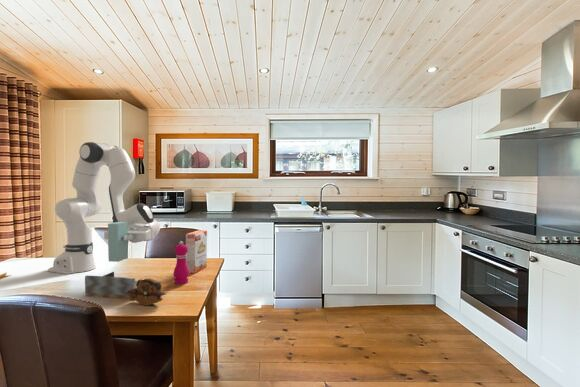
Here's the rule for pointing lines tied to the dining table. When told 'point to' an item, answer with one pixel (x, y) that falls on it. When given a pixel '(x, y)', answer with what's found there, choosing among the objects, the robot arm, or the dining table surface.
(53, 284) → the dining table surface
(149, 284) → the wooden carving
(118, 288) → the grey speckled box
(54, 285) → the dining table surface
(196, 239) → the cracker box
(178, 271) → the pepper mill
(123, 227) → the grey-green rectangular block
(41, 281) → the dining table surface
